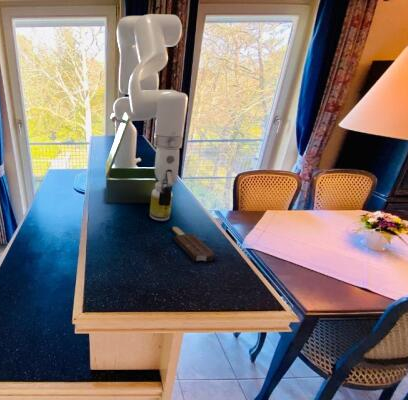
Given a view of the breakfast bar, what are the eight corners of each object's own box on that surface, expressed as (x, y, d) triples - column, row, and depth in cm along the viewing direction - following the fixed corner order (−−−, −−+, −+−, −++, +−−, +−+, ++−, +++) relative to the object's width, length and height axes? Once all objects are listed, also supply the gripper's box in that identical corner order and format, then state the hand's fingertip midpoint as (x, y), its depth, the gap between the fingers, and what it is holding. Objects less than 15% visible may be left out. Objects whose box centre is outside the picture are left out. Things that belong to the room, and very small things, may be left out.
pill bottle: (165, 223, 79) (170, 189, 74) (146, 218, 82) (149, 185, 77) (172, 215, 84) (176, 182, 79) (153, 210, 87) (156, 178, 82)
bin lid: (127, 112, 91) (112, 107, 90) (130, 118, 79) (114, 112, 79) (107, 166, 99) (94, 162, 98) (107, 178, 88) (92, 173, 87)
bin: (156, 189, 103) (158, 167, 99) (163, 203, 91) (165, 179, 87) (106, 188, 103) (106, 167, 99) (106, 203, 92) (106, 179, 88)
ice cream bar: (165, 231, 75) (196, 264, 62) (165, 226, 74) (197, 258, 61) (181, 228, 76) (215, 260, 63) (182, 223, 76) (217, 254, 63)
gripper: (191, 149, 65) (181, 212, 72) (174, 134, 80) (167, 188, 88) (160, 149, 65) (154, 212, 72) (149, 134, 80) (144, 188, 88)
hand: (161, 198), depth 80 cm, fingers open, 7 cm apart
